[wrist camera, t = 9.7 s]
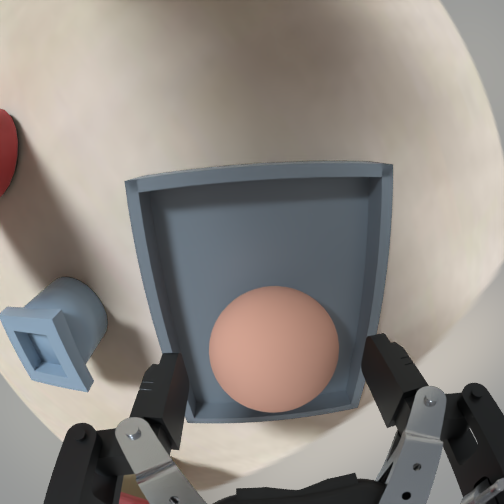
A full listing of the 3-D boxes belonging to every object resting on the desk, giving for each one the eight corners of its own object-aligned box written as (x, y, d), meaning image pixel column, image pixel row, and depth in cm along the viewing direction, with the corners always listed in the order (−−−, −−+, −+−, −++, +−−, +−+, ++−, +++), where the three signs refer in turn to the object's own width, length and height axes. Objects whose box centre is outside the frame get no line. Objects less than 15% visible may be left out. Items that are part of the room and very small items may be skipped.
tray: (143, 176, 14) (124, 181, 11) (370, 161, 14) (392, 164, 11) (191, 397, 19) (187, 422, 17) (348, 384, 19) (357, 407, 17)
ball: (207, 269, 14) (187, 343, 9) (324, 260, 14) (367, 327, 9) (221, 358, 16) (215, 439, 11) (318, 350, 16) (344, 426, 11)
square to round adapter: (38, 278, 15) (-4, 313, 11) (94, 275, 15) (52, 317, 11) (62, 339, 17) (31, 380, 12) (116, 343, 17) (90, 393, 12)
